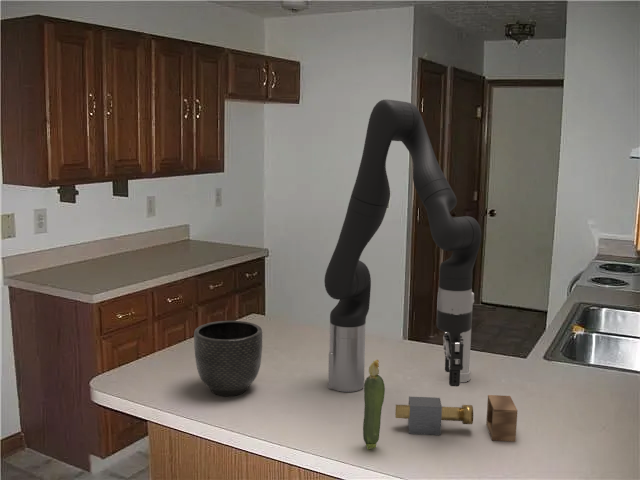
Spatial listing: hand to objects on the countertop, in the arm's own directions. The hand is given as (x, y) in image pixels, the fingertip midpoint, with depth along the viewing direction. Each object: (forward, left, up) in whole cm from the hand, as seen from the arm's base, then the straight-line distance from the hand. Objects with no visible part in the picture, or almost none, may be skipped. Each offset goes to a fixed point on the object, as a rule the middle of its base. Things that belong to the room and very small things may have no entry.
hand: (451, 378), depth 151 cm
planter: (-54, +18, -13) cm, 59 cm away
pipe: (+6, +32, -13) cm, 35 cm away
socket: (+11, 0, -12) cm, 17 cm away
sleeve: (-6, 0, -12) cm, 14 cm away
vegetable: (-17, -10, -13) cm, 24 cm away
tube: (-4, 0, -10) cm, 11 cm away
